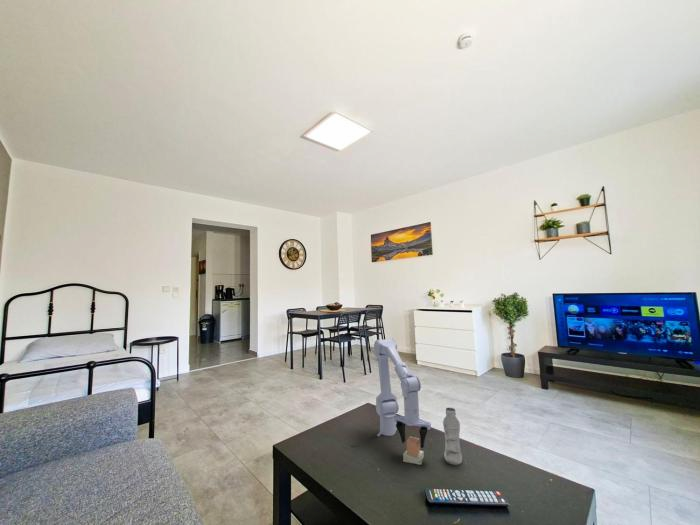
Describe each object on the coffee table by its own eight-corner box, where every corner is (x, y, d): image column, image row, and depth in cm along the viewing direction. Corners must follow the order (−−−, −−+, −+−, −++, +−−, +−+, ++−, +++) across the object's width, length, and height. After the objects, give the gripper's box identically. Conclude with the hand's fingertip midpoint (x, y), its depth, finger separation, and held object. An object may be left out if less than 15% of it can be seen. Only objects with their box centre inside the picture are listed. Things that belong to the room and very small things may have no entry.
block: (410, 449, 112) (409, 436, 113) (419, 452, 110) (419, 438, 111) (406, 454, 109) (406, 440, 109) (416, 457, 107) (416, 443, 107)
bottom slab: (405, 456, 114) (405, 451, 114) (423, 459, 112) (423, 454, 112) (403, 466, 107) (402, 461, 108) (421, 470, 105) (421, 464, 105)
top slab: (409, 452, 114) (409, 446, 114) (423, 456, 110) (423, 451, 111) (403, 459, 109) (403, 453, 109) (417, 464, 106) (417, 458, 106)
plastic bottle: (441, 464, 107) (438, 409, 110) (449, 456, 112) (446, 404, 115) (458, 471, 103) (455, 414, 105) (465, 463, 108) (461, 408, 110)
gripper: (390, 408, 112) (392, 444, 110) (426, 415, 105) (428, 454, 103) (397, 402, 118) (398, 436, 116) (431, 408, 111) (433, 445, 109)
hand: (412, 444), depth 110 cm, fingers open, 7 cm apart
